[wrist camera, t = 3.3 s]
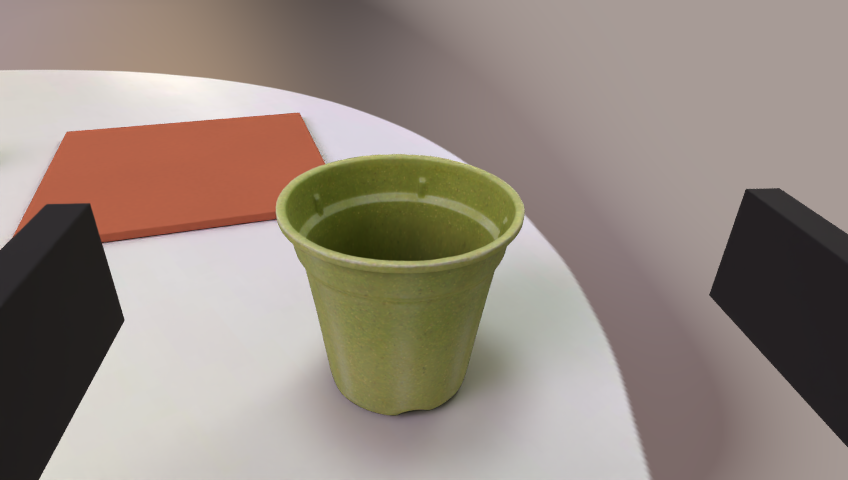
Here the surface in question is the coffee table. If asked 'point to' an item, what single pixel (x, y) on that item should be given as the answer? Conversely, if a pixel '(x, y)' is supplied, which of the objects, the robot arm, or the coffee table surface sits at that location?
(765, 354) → the robot arm
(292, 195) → the plant pot
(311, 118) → the coffee table surface
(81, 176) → the terracotta mat
